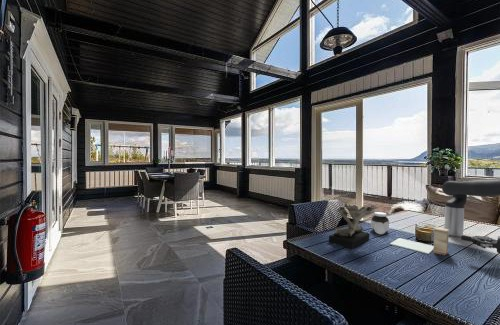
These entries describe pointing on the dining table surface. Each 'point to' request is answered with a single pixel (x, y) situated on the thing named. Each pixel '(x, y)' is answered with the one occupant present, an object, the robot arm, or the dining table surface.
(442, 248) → the maple block
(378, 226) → the spread jar
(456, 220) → the robot arm
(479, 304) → the dining table surface
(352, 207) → the coral
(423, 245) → the sage board
